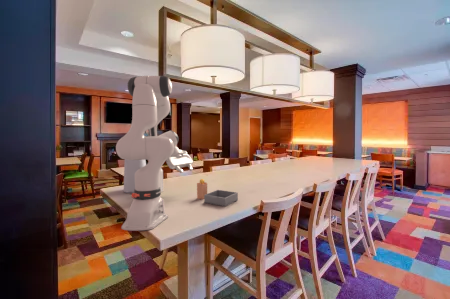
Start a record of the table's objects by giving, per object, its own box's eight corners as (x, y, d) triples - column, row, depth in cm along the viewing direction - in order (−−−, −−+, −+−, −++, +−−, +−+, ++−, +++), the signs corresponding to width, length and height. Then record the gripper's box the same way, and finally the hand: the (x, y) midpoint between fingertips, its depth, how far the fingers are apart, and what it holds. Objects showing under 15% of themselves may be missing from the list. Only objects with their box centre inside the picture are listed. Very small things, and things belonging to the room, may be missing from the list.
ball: (204, 184, 141) (204, 179, 141) (199, 184, 141) (199, 179, 141) (204, 183, 144) (204, 178, 144) (200, 183, 144) (199, 178, 144)
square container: (197, 198, 143) (196, 183, 142) (201, 196, 146) (201, 181, 146) (203, 199, 140) (202, 184, 140) (207, 197, 144) (207, 182, 143)
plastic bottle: (149, 187, 173) (148, 150, 171) (145, 192, 158) (143, 152, 156) (128, 188, 171) (126, 150, 169) (122, 193, 156) (120, 152, 154)
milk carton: (148, 192, 157) (147, 165, 156) (155, 190, 164) (154, 163, 163) (156, 193, 154) (155, 165, 153) (163, 191, 161) (162, 164, 159)
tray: (225, 206, 126) (225, 198, 126) (204, 202, 134) (204, 194, 133) (237, 200, 138) (237, 192, 138) (217, 196, 146) (217, 189, 145)
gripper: (166, 153, 143) (178, 170, 138) (187, 151, 160) (199, 166, 156) (161, 160, 145) (173, 176, 141) (183, 157, 163) (194, 172, 158)
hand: (187, 171), depth 148 cm, fingers open, 8 cm apart
